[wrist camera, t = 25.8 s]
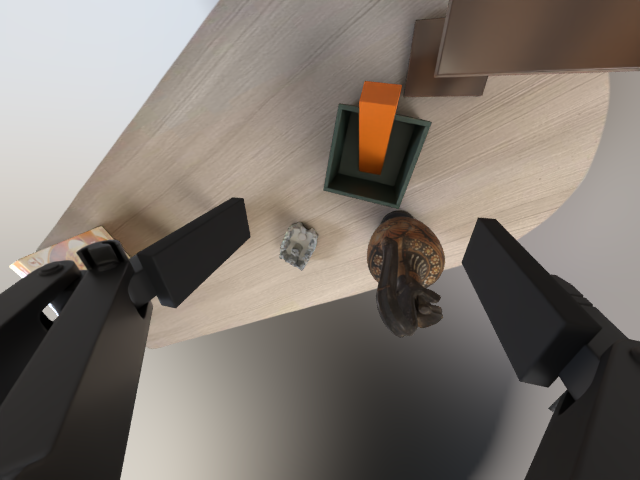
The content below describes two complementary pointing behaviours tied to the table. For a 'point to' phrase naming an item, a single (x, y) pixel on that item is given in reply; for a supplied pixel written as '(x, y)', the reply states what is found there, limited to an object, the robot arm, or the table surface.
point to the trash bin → (397, 160)
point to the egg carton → (298, 245)
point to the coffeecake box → (60, 252)
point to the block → (376, 123)
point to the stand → (520, 42)
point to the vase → (405, 273)
